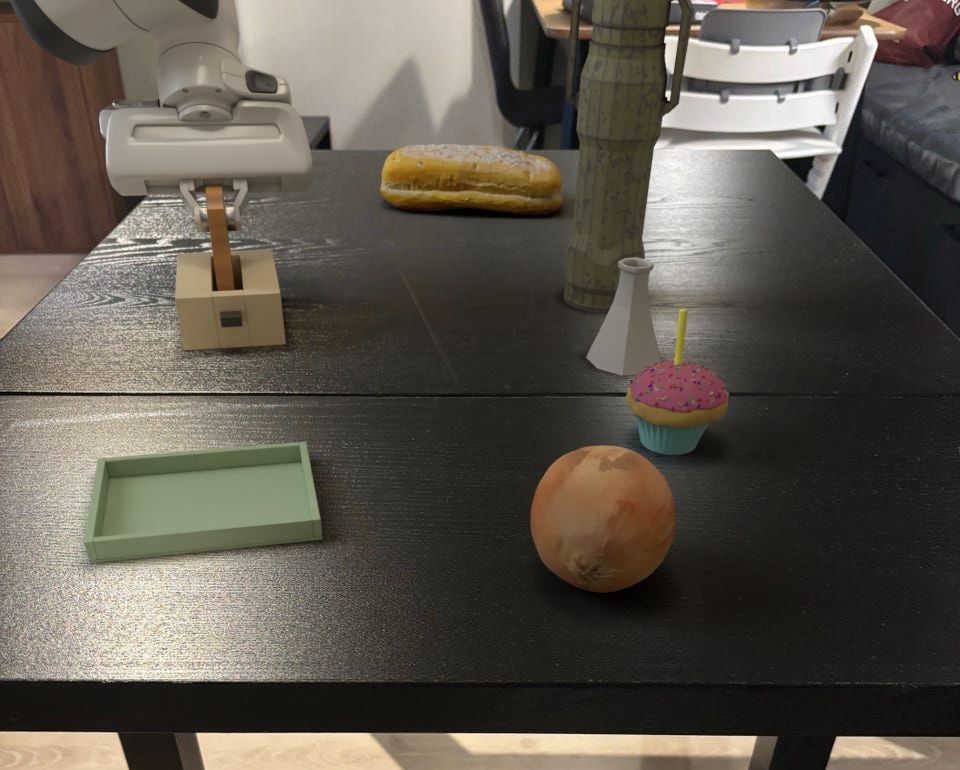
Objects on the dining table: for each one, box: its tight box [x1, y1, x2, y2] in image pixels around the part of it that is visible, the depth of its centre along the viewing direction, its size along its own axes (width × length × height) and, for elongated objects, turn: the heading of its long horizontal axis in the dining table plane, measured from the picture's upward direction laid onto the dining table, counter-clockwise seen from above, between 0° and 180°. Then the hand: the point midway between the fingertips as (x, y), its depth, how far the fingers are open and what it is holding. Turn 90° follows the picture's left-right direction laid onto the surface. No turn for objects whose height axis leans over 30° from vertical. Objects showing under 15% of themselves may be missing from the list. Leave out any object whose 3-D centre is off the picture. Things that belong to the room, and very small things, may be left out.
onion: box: [529, 444, 677, 594], centre depth 63 cm, size 10×10×10 cm
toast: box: [205, 185, 236, 291], centre depth 95 cm, size 9×2×10 cm, turn 13°
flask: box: [585, 257, 662, 377], centre depth 92 cm, size 7×7×10 cm
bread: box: [379, 143, 563, 216], centre depth 136 cm, size 13×26×8 cm, turn 91°
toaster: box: [174, 249, 287, 352], centre depth 97 cm, size 16×10×6 cm, turn 13°
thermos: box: [562, 0, 695, 314], centre depth 98 cm, size 9×12×35 cm
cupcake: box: [625, 298, 730, 456], centre depth 78 cm, size 9×8×12 cm
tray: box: [83, 441, 324, 564], centre depth 71 cm, size 16×12×2 cm
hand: (219, 228), depth 95 cm, fingers closed on toast, 1 cm apart
